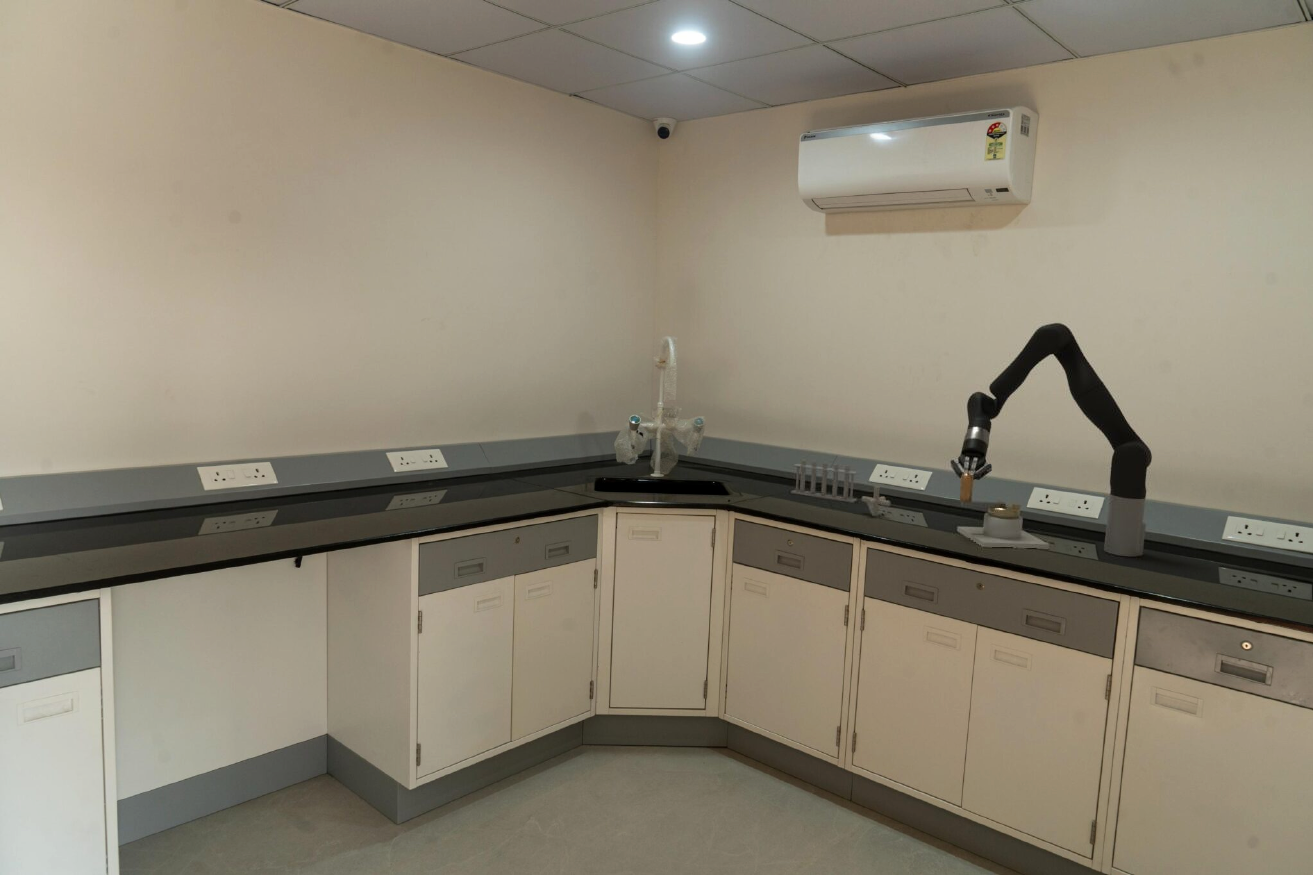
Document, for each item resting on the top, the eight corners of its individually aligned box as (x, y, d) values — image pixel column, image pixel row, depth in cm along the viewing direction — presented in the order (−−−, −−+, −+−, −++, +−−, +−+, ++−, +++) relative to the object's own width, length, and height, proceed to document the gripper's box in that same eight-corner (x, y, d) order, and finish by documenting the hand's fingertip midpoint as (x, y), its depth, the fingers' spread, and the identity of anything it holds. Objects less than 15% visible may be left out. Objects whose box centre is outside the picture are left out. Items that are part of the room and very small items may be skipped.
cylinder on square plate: (1018, 532, 274) (1020, 510, 273) (1048, 549, 254) (1051, 524, 253) (957, 531, 274) (959, 508, 273) (982, 547, 254) (984, 522, 253)
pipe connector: (895, 515, 293) (897, 487, 292) (881, 519, 286) (883, 490, 284) (869, 510, 300) (871, 482, 298) (854, 514, 292) (856, 486, 291)
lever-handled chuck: (1012, 512, 267) (1016, 474, 266) (1024, 519, 258) (1027, 479, 257) (954, 510, 268) (957, 471, 266) (963, 516, 259) (966, 476, 257)
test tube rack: (856, 501, 317) (859, 466, 315) (852, 502, 313) (854, 467, 311) (795, 491, 331) (797, 458, 329) (790, 493, 327) (792, 459, 326)
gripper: (953, 435, 274) (943, 478, 265) (997, 439, 268) (988, 483, 259) (954, 449, 279) (945, 492, 270) (997, 453, 273) (989, 497, 264)
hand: (966, 487), depth 265 cm, fingers closed
